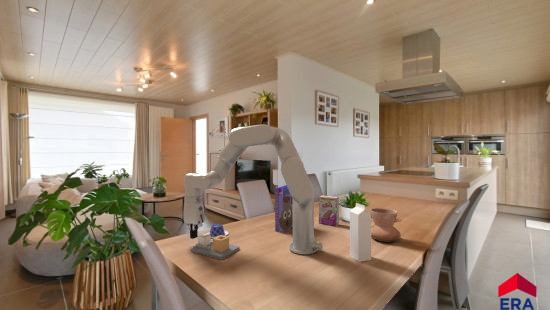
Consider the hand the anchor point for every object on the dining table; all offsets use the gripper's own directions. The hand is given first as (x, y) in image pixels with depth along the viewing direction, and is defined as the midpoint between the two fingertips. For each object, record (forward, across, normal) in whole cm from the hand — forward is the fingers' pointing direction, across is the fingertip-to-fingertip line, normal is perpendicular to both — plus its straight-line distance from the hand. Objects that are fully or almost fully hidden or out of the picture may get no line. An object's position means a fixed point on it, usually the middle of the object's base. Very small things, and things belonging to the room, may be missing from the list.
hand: (193, 237), depth 118 cm
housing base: (+3, -14, 0) cm, 14 cm away
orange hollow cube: (+2, -17, 0) cm, 17 cm away
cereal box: (+4, -27, -44) cm, 52 cm away
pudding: (+4, 0, -16) cm, 16 cm away
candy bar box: (+4, -46, -62) cm, 77 cm away
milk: (+4, -72, -23) cm, 75 cm away
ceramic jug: (+4, -77, -51) cm, 92 cm away
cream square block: (+2, -7, 0) cm, 7 cm away
